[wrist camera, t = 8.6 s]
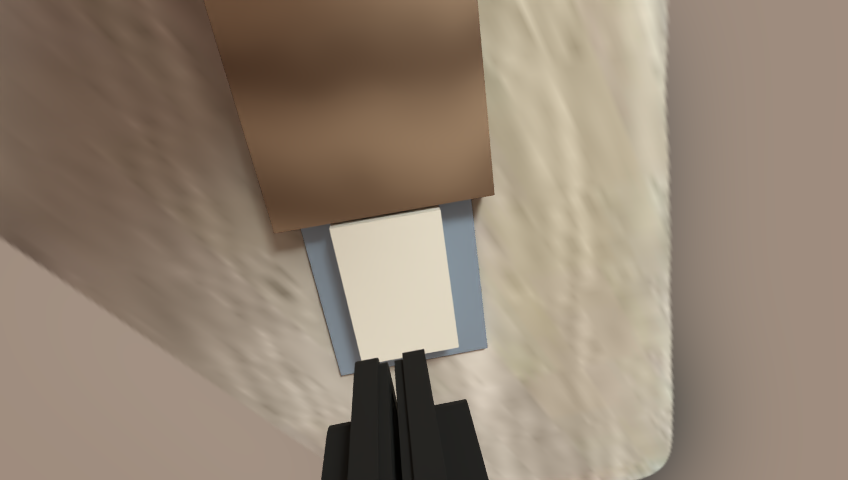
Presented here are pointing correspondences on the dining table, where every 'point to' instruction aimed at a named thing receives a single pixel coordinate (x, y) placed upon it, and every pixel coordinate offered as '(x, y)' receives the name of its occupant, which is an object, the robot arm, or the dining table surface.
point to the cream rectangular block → (397, 282)
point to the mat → (461, 279)
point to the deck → (357, 104)
